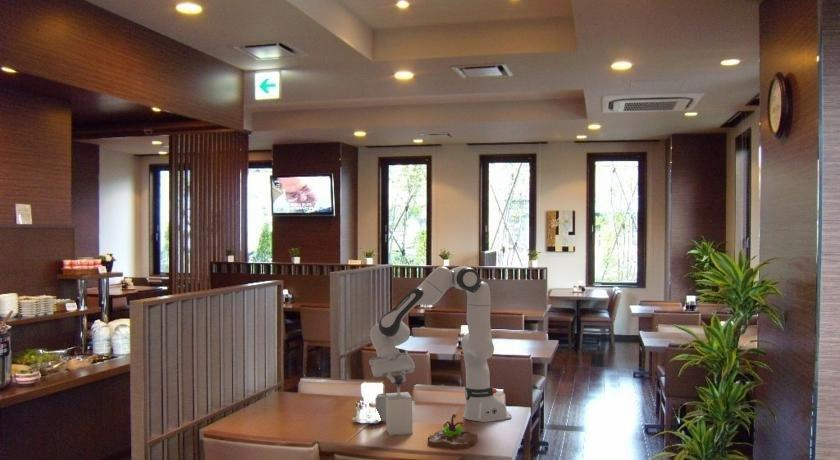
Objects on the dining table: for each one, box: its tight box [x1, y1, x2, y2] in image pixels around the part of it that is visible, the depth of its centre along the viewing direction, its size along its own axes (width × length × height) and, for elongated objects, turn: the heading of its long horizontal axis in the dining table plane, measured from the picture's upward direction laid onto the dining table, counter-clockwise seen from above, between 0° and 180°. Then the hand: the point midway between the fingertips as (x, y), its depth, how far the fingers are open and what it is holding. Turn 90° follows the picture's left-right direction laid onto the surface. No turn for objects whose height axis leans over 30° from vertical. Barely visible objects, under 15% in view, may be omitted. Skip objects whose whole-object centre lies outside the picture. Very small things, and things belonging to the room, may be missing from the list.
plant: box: [427, 413, 478, 450], centre depth 285 cm, size 20×20×11 cm
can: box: [374, 393, 386, 423], centre depth 319 cm, size 8×8×12 cm
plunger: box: [393, 375, 404, 396], centre depth 300 cm, size 8×8×21 cm
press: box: [385, 391, 414, 437], centre depth 300 cm, size 10×10×16 cm
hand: (399, 381), depth 300 cm, fingers closed on plunger, 4 cm apart
